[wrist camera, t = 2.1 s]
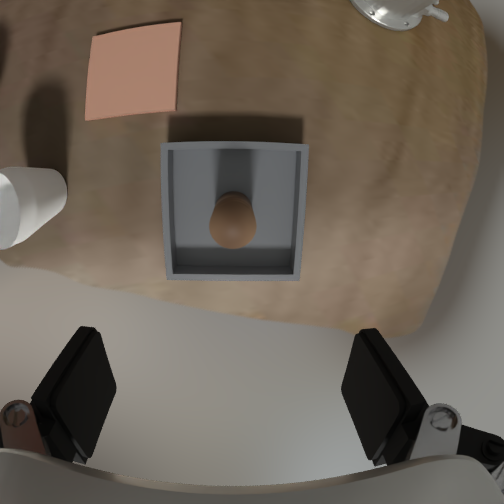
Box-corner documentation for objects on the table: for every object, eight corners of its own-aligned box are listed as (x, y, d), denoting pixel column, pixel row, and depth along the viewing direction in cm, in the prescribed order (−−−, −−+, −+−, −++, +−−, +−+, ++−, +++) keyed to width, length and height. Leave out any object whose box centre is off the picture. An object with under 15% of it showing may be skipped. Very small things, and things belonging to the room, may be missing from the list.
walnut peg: (252, 191, 34) (257, 203, 27) (251, 227, 36) (255, 249, 28) (214, 191, 34) (208, 202, 27) (215, 227, 36) (209, 248, 28)
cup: (59, 147, 31) (3, 153, 20) (84, 205, 34) (33, 230, 23) (20, 180, 32) (-34, 196, 21) (43, 233, 35) (-7, 263, 24)
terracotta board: (182, 24, 27) (180, 21, 26) (176, 110, 31) (175, 109, 30) (95, 38, 27) (92, 36, 26) (88, 120, 31) (85, 120, 30)
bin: (301, 145, 34) (308, 144, 30) (294, 269, 39) (299, 280, 36) (167, 143, 33) (160, 142, 29) (172, 268, 38) (166, 279, 35)
